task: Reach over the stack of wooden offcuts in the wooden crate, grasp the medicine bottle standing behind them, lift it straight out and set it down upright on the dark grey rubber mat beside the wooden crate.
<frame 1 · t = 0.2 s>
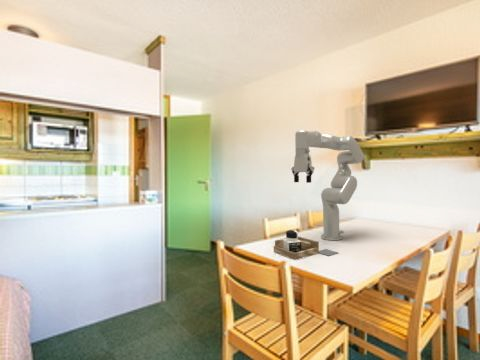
hand: (302, 182, 153), 36 cm above the table, tool pointing down, fingers open, 9 cm apart
mat: (327, 252, 139), on the table
offcut stack: (303, 250, 144), resting in wooden crate
wooden crate: (295, 252, 140), on the table
medicine bottle: (292, 253, 139), resting in wooden crate
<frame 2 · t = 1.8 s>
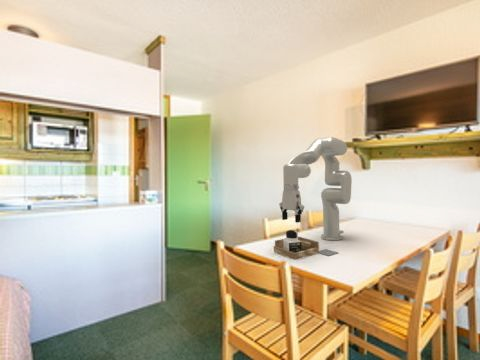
hand: (291, 220, 138), 17 cm above the table, tool pointing down, fingers open, 9 cm apart
nothing on the table moved.
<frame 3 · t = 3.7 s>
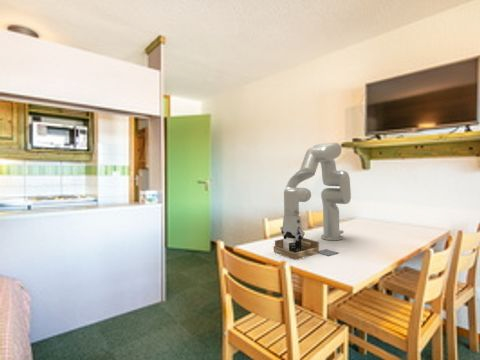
hand: (292, 245, 139), 4 cm above the table, tool pointing down, fingers closed on medicine bottle, 8 cm apart
medicine bottle: (292, 253, 139), resting in wooden crate, touching gripper
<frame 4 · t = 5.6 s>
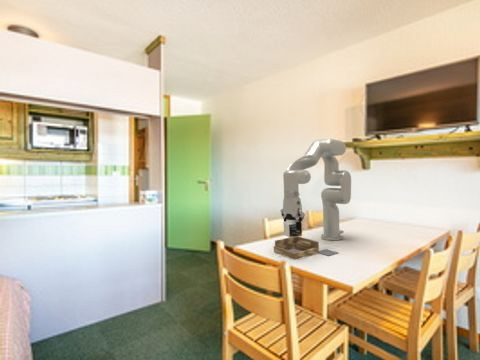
hand: (292, 227, 139), 14 cm above the table, tool pointing down, fingers closed on medicine bottle, 8 cm apart
medicine bottle: (292, 235, 139), point 9 cm above the table, touching gripper
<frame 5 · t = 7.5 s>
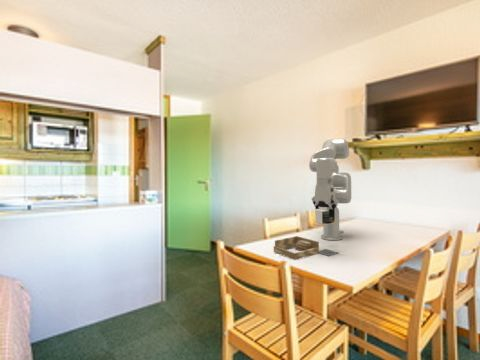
hand: (324, 215, 138), 20 cm above the table, tool pointing down, fingers closed on medicine bottle, 8 cm apart
medicine bottle: (324, 223, 139), point 15 cm above the table, touching gripper
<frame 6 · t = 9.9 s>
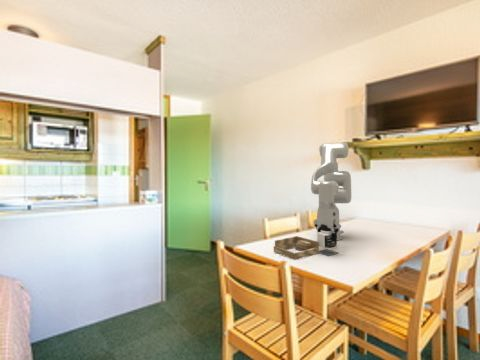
hand: (326, 238, 138), 7 cm above the table, tool pointing down, fingers closed on medicine bottle, 8 cm apart
medicine bottle: (327, 247, 138), point 3 cm above the table, touching gripper
when the fingers open (5 cm above the table, at t = 11.5 s): medicine bottle stays where it is, resting on mat.
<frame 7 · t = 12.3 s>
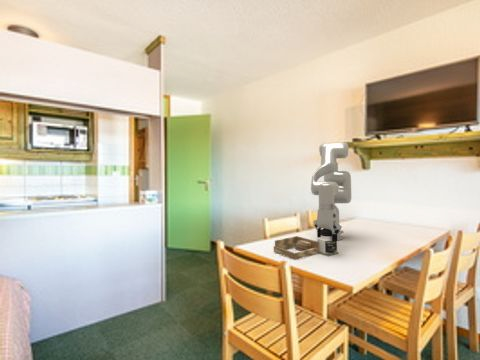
hand: (327, 239, 139), 7 cm above the table, tool pointing down, fingers open, 9 cm apart
medicine bottle: (327, 252, 139), resting on mat, touching gripper
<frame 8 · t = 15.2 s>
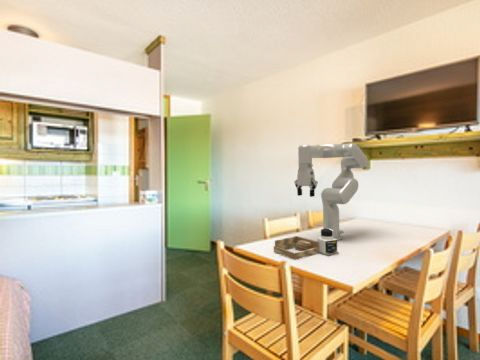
hand: (305, 195, 155), 28 cm above the table, tool pointing down, fingers open, 9 cm apart
medicine bottle: (327, 252, 139), resting on mat
at the end: medicine bottle inside the target area on the mat (0.2 cm from its centre), point 0.2 cm above the mat's base; medicine bottle tilted 0°; the gripper is holding nothing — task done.
